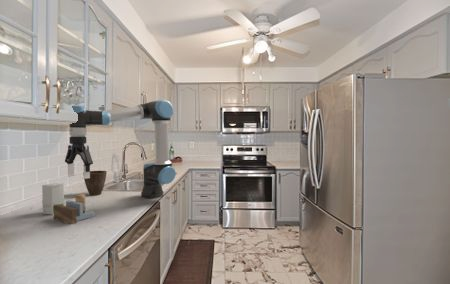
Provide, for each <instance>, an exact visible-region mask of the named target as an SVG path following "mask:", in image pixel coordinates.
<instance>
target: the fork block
mask: <svg viewBox="0 0 450 284" xmlns="http://www.w3.org/2000/svg"><path fill="white" fill-rule="evenodd" d="M65 206H67V207H72V208H76V221H77V222H78V221H82V220H85V219H88V218H92V217H94V216H95V212H94V211H92V210H91V211H87V212H86V211H85V213H83V203H79V202H76V201H73V200H66V201H65Z"/></svg>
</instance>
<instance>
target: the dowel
mask: <svg viewBox="0 0 450 284" xmlns="http://www.w3.org/2000/svg"><path fill="white" fill-rule="evenodd" d="M74 200H75V202H79V203H83V213H86V194H82V193H81V194H76V195H75V199H74Z"/></svg>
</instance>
